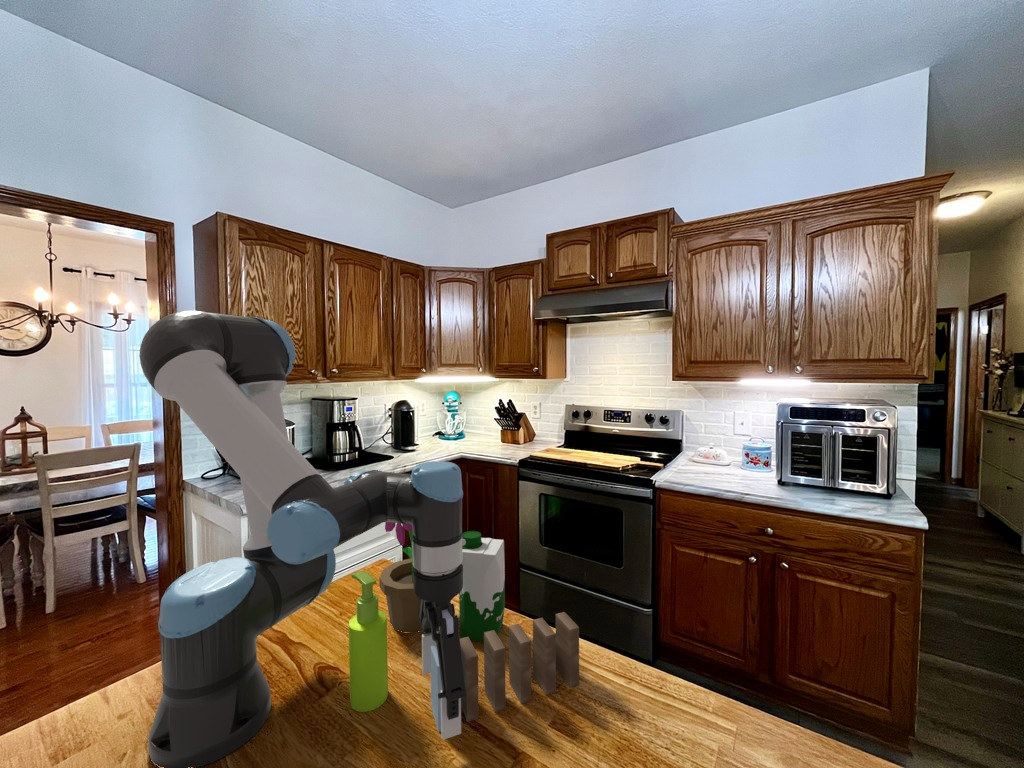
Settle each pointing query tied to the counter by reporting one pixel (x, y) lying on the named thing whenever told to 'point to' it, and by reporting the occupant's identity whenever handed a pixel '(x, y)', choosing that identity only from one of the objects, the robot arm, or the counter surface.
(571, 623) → the domino
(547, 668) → the domino
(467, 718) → the domino
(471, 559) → the milk carton
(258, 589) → the robot arm
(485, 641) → the domino
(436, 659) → the domino
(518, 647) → the domino
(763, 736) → the counter surface
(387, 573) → the flowerpot
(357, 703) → the soap dispenser
